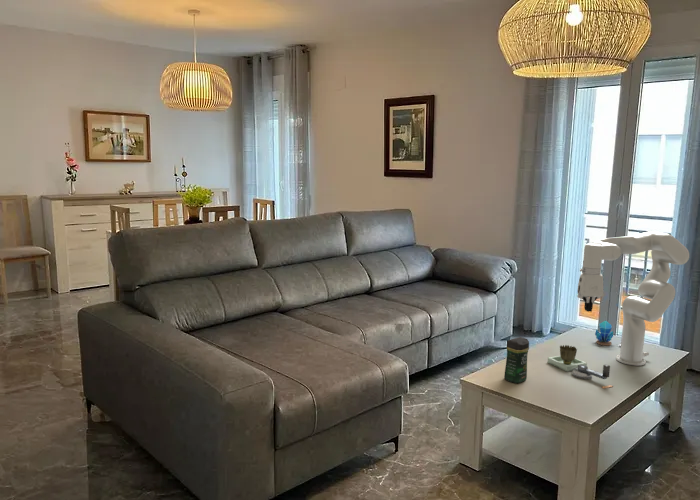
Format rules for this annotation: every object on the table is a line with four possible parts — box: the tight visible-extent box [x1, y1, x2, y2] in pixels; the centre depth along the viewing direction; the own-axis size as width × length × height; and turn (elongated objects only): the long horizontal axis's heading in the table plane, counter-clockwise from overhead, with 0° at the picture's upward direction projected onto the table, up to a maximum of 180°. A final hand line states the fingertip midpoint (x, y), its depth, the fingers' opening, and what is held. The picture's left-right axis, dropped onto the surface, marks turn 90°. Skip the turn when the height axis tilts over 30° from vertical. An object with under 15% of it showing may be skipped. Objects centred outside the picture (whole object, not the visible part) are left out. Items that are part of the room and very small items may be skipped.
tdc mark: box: [601, 384, 613, 389], centre depth 228 cm, size 5×1×1 cm, turn 113°
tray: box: [547, 355, 588, 372], centre depth 252 cm, size 12×12×2 cm
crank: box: [578, 364, 611, 380], centre depth 235 cm, size 14×4×6 cm, turn 32°
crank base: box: [571, 368, 593, 380], centre depth 240 cm, size 8×8×2 cm
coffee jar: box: [503, 336, 530, 384], centre depth 233 cm, size 10×8×19 cm
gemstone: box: [594, 320, 614, 347], centre depth 283 cm, size 7×9×12 cm
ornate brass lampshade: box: [559, 344, 578, 365], centre depth 252 cm, size 8×7×8 cm
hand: (588, 310), depth 245 cm, fingers closed
